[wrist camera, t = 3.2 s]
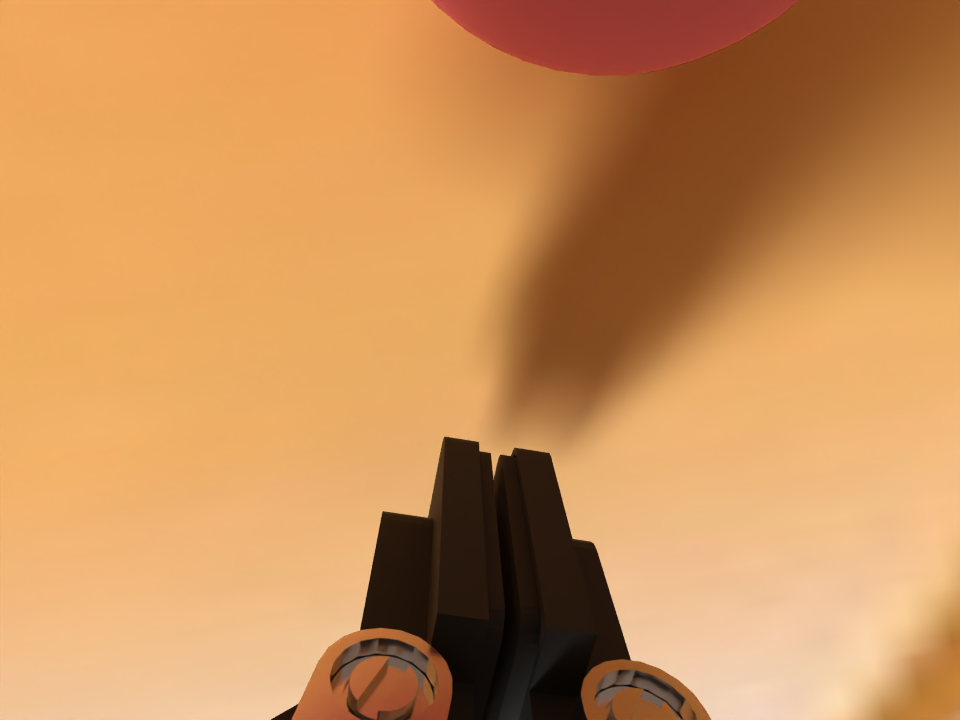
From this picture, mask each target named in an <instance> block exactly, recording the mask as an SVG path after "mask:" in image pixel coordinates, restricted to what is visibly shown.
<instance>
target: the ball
mask: <svg viewBox="0 0 960 720" xmlns="http://www.w3.org/2000/svg"><path fill="white" fill-rule="evenodd" d="M432 1H433V2H434V3H435V4H436V5H437V6H438V7H439V8H440V9H441V10H442V11H444V12H445V13H446V14H447V15H448V16H450V17H451V18H452V19H453V20H454V21H456V22H457V23H458V24H459V25H460V26H462V27H463V28H464V29H465V30H467V31H469V32H470V33H472V34H473V35H475V36H476V37H478V38H480V39H481V40H483V41H484V42H486V43H488V44H489V45H491V46H492V47H494V48H496V49H499V50H501V51H503V52H505V53H507V54H510V55H512V56H514V57H516V58H519V59H521V60H523V61H526V62H530V63H533V64H537V65H540V66H543V67H547V68H550V69H554V70H558V71H564V72H572V73H579V74H586V75H632V74H638V73H645V72H652V71H658V70H663V69H667V68H670V67H673V66H677V65H680V64H684V63H687V62H690V61H694V60H697V59H699V58H702V57H704V56H707V55H709V54H711V53H714V52H716V51H718V50H720V49H723V48H725V47H727V46H729V45H732V44H734V43H736V42H738V41H741V40H742V39H744V38H746V37H747V36H749V35H750V34H752V33H754V32H755V31H757V30H759V29H760V28H762V27H764V26H765V25H767V24H769V23H770V22H772V21H774V20H775V19H776V18H777V17H779V16H780V15H781V14H783V13H784V12H785V11H786V10H788V9H789V8H790V7H791V6H793V5H794V4H795V3H797V2H798V1H799V0H432Z"/></svg>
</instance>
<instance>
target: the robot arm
mask: <svg viewBox="0 0 960 720" xmlns="http://www.w3.org/2000/svg"><path fill="white" fill-rule="evenodd" d="M271 720H711V718H710V717H709V715H708V713H707V711H706V710H705V708H704V707H703V706H702V704H701V703H700V702H699V700H698V699H697V697H696V696H695V695H694V694H693V693H692V692H691V691H690V690H689V689H688V688H687V687H686V686H684V685H683V684H682V683H681V682H680V681H679V680H678V679H676V678H674V677H673V676H671V675H669V674H668V673H666V672H664V671H663V670H661V669H659V668H656V667H654V666H651V665H648V664H645V663H643V662H639V661H631V659H630V656H629V653H628V649H627V646H626V643H625V640H624V636H623V633H622V630H621V627H620V624H619V620H618V617H617V614H616V611H615V607H614V604H613V601H612V598H611V595H610V591H609V588H608V585H607V582H606V578H605V575H604V572H603V569H602V566H601V562H600V559H599V556H598V553H597V550H596V547H595V545H594V544H593V543H592V542H590V541H583V540H576V539H572V535H571V531H570V528H569V524H568V520H567V516H566V512H565V509H564V505H563V501H562V497H561V493H560V489H559V486H558V482H557V478H556V474H555V470H554V467H553V463H552V459H551V456H550V453H545V452H539V451H532V450H526V449H520V448H514V450H513V452H512V455H511V456H506V455H500V457H499V459H498V463H497V467H496V472H495V476H494V481H493V471H492V461H491V453H487V452H480V451H479V442H475V441H469V440H463V439H456V438H450V437H444V439H443V443H442V448H441V453H440V458H439V463H438V468H437V474H436V479H435V484H434V489H433V495H432V500H431V505H430V510H429V516H428V518H425V517H418V516H411V515H405V514H398V513H391V512H384V511H383V512H382V517H381V523H380V528H379V533H378V538H377V544H376V549H375V554H374V560H373V565H372V570H371V575H370V581H369V586H368V591H367V597H366V602H365V607H364V612H363V618H362V623H361V628H360V631H357V632H354V633H352V634H349V635H346V636H343V637H342V638H341V639H339V640H338V641H337V642H335V643H334V644H332V645H331V646H330V647H328V649H327V650H326V652H325V653H324V654H323V656H322V657H321V659H320V660H319V662H318V664H317V666H316V668H315V670H314V672H313V674H312V677H311V679H310V681H309V683H308V685H307V687H306V689H305V692H304V694H303V696H302V698H301V700H300V702H299V704H297V705H296V706H294V707H292V708H290V709H289V710H287V711H285V712H283V713H282V714H280V715H278V716H276V717H275V718H273V719H271Z"/></svg>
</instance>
